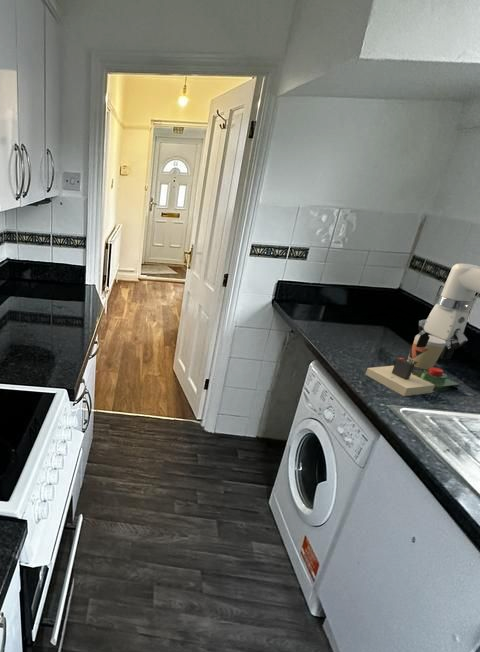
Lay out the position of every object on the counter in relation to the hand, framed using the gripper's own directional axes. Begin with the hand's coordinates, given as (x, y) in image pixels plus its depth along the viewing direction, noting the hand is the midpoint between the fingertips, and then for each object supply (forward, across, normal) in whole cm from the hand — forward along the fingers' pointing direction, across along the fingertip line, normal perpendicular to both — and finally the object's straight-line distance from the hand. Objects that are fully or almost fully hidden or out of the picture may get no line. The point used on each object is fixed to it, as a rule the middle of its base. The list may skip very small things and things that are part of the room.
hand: (432, 352), depth 138 cm
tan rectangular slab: (+12, 0, +9) cm, 15 cm away
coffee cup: (+12, +12, -10) cm, 20 cm away
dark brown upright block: (+9, 0, +9) cm, 12 cm away
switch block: (+12, 0, -4) cm, 12 cm away
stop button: (+8, 0, -4) cm, 9 cm away
